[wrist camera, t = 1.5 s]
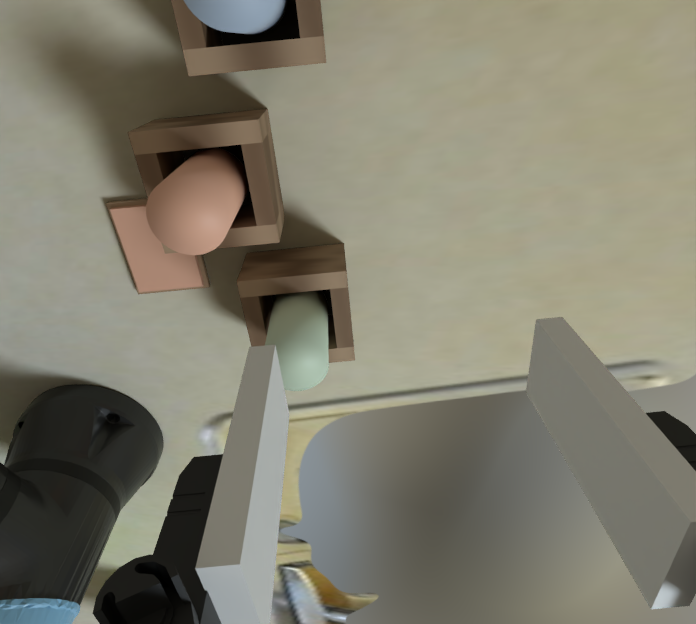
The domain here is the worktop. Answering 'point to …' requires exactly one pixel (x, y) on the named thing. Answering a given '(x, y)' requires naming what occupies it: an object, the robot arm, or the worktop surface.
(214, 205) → the pink rounded cylinder
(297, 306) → the sage plunger
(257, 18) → the slate plunger
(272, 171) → the brown housing
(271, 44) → the wooden box holder
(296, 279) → the square brown wooden frame
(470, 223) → the worktop surface
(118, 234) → the tile
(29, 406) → the robot arm
